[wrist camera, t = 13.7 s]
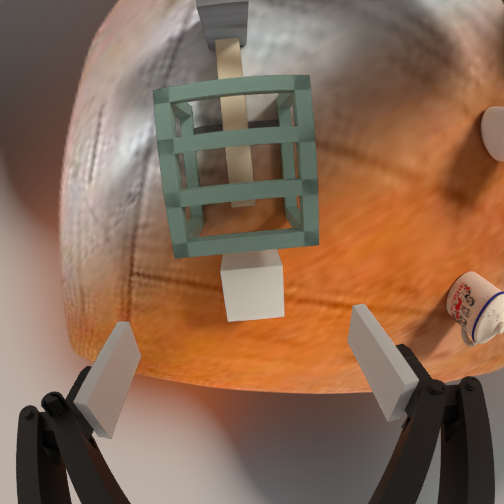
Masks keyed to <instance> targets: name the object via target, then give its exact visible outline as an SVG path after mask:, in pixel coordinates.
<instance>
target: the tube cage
mask: <svg viewBox="0 0 504 504" xmlns="http://www.w3.org/2000/svg"><path fill="white" fill-rule="evenodd" d="M270 93H280V94H279V95H278V97H277V98H276V104H277V115H278V120H270V121H254V122H248V129H239V130H229V131H223V124H222V125H214V126H206V127H198V128H194V123H193V112H192V106H190V105H189V104H188V103H187V102H191V101H197V100H204V99H212V98H220V97H229V96H240V95H252V94H270ZM153 97H154V111H155V123H156V134H157V144H158V153H159V162H160V170H161V178H162V185H163V192H164V199H165V205H166V212H167V218H168V224H169V230H170V235H171V241H172V246H173V252H174V257H175V259H176V258H186V257H197V256H208V255H218V254H229V253H240V252H250V251H261V250H272V249H283V248H293V247H304V246H315V245H319V205H318V177H317V158H316V142H315V128H314V116H313V106H312V95H311V86H310V77H309V75H268V76H249V77H236V78H226V79H217V80H209V81H202V82H195V83H189V84H183V85H178V86H172V87H167V88H163V89H158V90H153ZM292 105H293V110H294V121H295V126H292V125H291V114H290V107H291V106H292ZM174 115H175V116H177V117H179V118H180V126H181V137H177V138H176V129H175V117H174ZM278 126H279V127H278ZM194 130H195V134H194ZM294 142H296V146H297V161H298V177H299V178H295V165H294V150H293V143H294ZM274 143H280V151H281V164H282V178H283V179H276V180H263V181H251V182H240V183H230V184H220V185H211V186H203V187H200V180H199V172H198V163H197V154H196V151H201V150H209V149H217V148H226V147H235V146H246V145H259V144H274ZM180 153H183V156H184V164H185V173H186V181H187V189H182V182H181V174H180V166H179V157H178V154H180ZM296 196H300V210H299V208H298V207H297V200H296ZM277 197H284V211H285V217H286V218H287V220H288V221H289V223H290V225H291V226H292V228H288V229H277V230H266V231H255V232H244V233H233V234H223V235H213V236H203V237H199V235H200V233H201V231H202V228H203V226H204V224H205V220H204V213H203V205H204V204H213V203H222V202H232V201H242V200H253V199H265V198H277ZM187 206H190V211H191V218H190V219H189V221H188V222H187V218H186V212H185V207H187Z"/></svg>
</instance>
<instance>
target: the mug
mask: <svg viewBox="0 0 504 504" xmlns="http://www.w3.org/2000/svg"><path fill="white" fill-rule="evenodd" d="M481 135H482V140H483V143H484V145H485V147H486V149H487V151H488V152H489V154H490V155H491V156H492V157H493V158H494V159H495V160H497V161H500V162H504V106H492V107H489V108H488V109H487V110H486V111H485V112H484V115H483V117H482V120H481Z"/></svg>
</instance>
